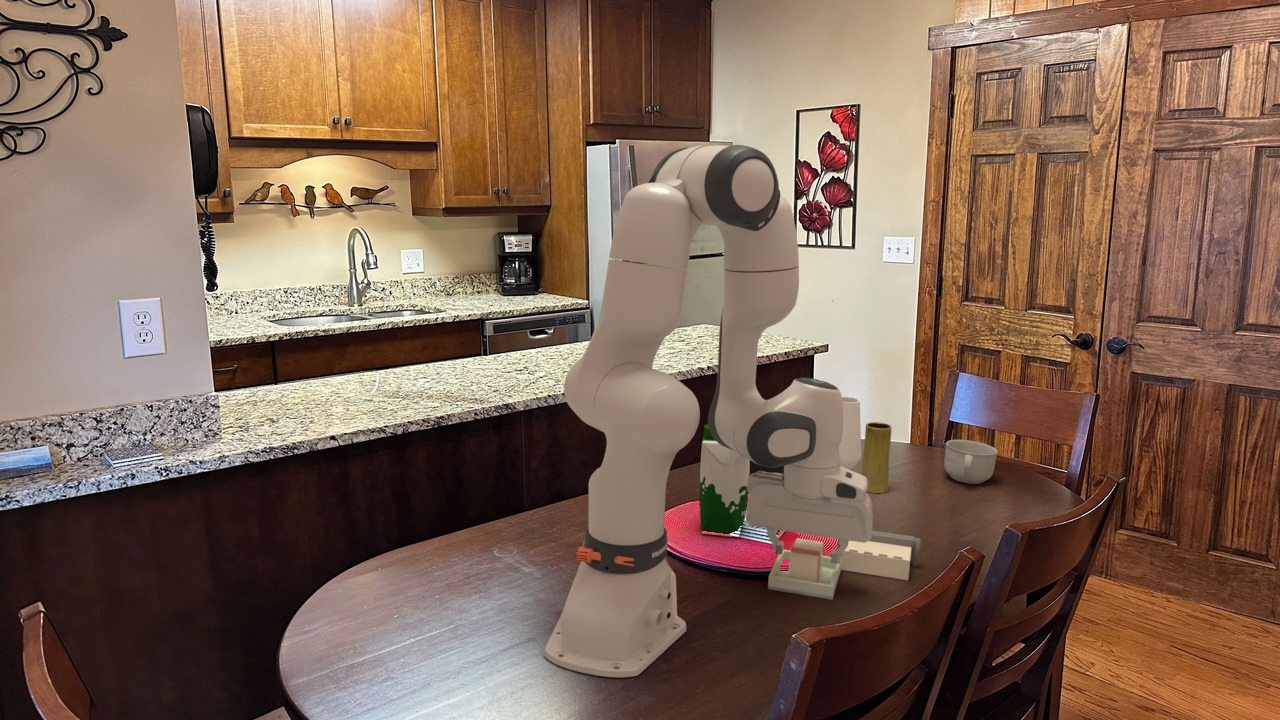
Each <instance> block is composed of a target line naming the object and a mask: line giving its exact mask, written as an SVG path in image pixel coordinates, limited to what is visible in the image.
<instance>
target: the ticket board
mask: <svg viewBox="0 0 1280 720" xmlns="http://www.w3.org/2000/svg"><path fill="white" fill-rule="evenodd" d="M921 541H922V540H921V538H920V537H916V536H913V535H906V534H898V533H891V532H885V531H877V530H873V532H872V537H871V539H870V540H869V541H867V542H866V543H862V542H856V541H849V544H848V547H847V548H846V549H845V550H844V552H843V553H842V555H841V559H842V561H841V571H846V572H853V573H859V574H865V575H872V576H877V577H878V576H879V577H885V578H891V579H897V580H902V581H909V576H910V568H911V566H913V567H918V566H919V563H920V562H919V561H920V552H921ZM836 546H837V549H836V550H838V548H839V547H840V546H841V545H839V539H837V545H836Z"/></svg>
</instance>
